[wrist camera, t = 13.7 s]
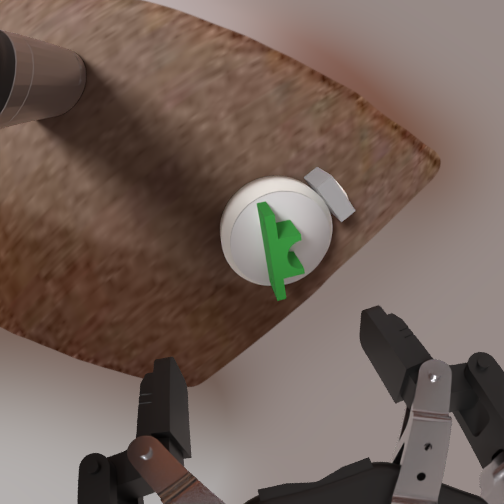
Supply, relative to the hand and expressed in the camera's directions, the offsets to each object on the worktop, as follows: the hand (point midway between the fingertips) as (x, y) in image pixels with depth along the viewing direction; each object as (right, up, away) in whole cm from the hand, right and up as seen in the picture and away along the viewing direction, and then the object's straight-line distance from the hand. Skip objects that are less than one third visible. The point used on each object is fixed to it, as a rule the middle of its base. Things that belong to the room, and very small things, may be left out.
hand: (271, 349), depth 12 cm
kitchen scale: (+3, +8, +31) cm, 32 cm away
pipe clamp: (+2, +5, +27) cm, 28 cm away
